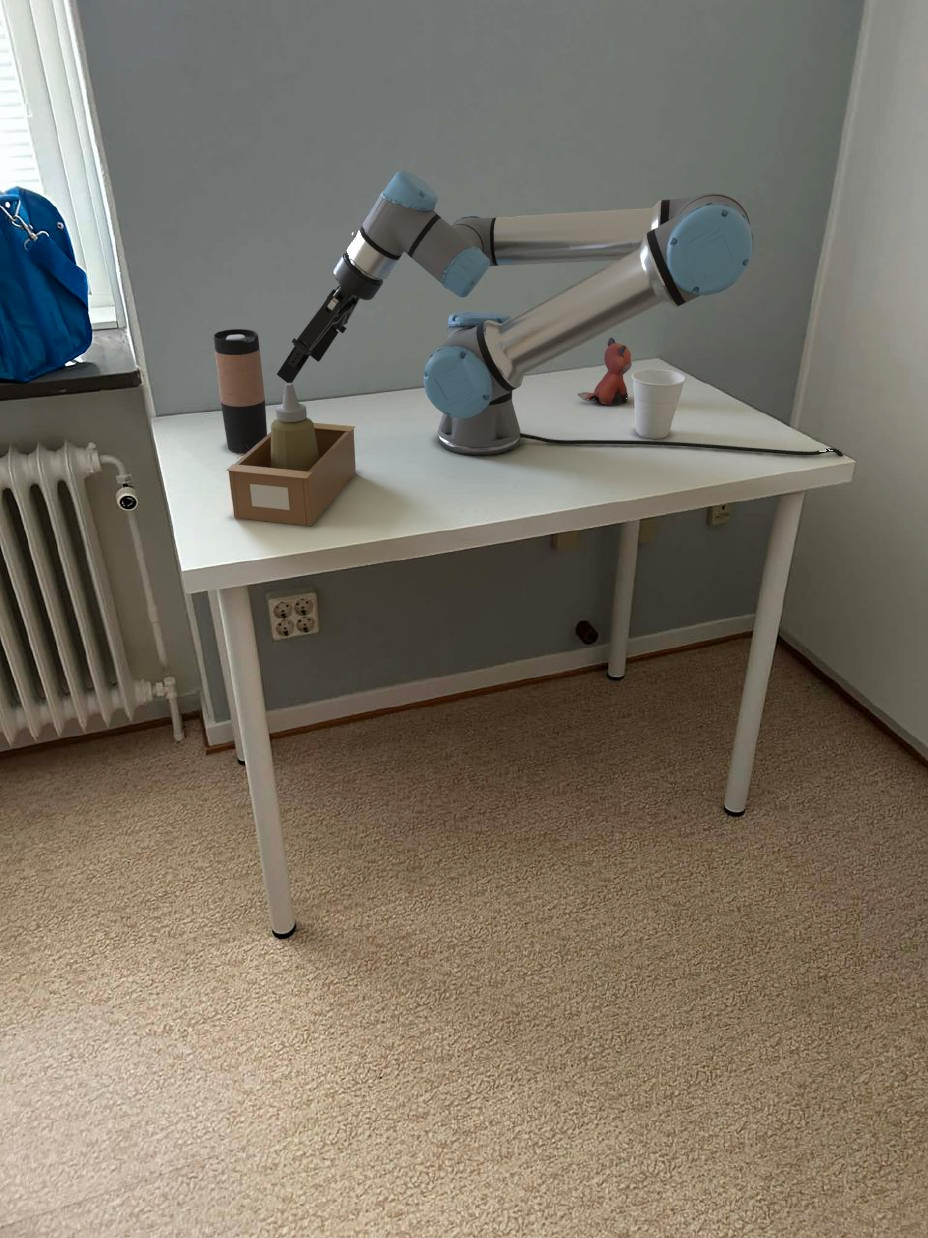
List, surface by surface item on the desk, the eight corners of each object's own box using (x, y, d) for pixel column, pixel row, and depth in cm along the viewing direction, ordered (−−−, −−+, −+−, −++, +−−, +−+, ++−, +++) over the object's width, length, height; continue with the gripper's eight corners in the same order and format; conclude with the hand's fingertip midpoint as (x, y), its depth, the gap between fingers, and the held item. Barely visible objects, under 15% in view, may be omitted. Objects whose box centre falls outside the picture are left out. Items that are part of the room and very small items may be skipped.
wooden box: (357, 471, 164) (355, 426, 160) (310, 528, 145) (306, 478, 141) (287, 464, 166) (283, 419, 162) (232, 519, 147) (226, 469, 143)
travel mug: (229, 438, 176) (215, 328, 166) (271, 438, 177) (260, 328, 167) (223, 454, 170) (209, 340, 160) (267, 453, 170) (256, 340, 160)
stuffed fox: (569, 398, 199) (573, 340, 193) (615, 392, 203) (621, 335, 197) (588, 409, 193) (593, 350, 187) (635, 403, 197) (642, 344, 191)
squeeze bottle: (313, 505, 151) (305, 394, 142) (265, 500, 153) (253, 390, 143) (329, 485, 158) (322, 378, 149) (283, 481, 159) (273, 374, 150)
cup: (620, 438, 179) (625, 380, 174) (632, 421, 187) (638, 365, 181) (672, 446, 176) (680, 387, 170) (683, 429, 184) (691, 372, 178)
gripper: (369, 236, 162) (307, 334, 173) (319, 265, 141) (251, 374, 152) (404, 266, 163) (340, 361, 174) (359, 298, 142) (289, 404, 153)
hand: (298, 367), depth 163 cm, fingers open, 13 cm apart
